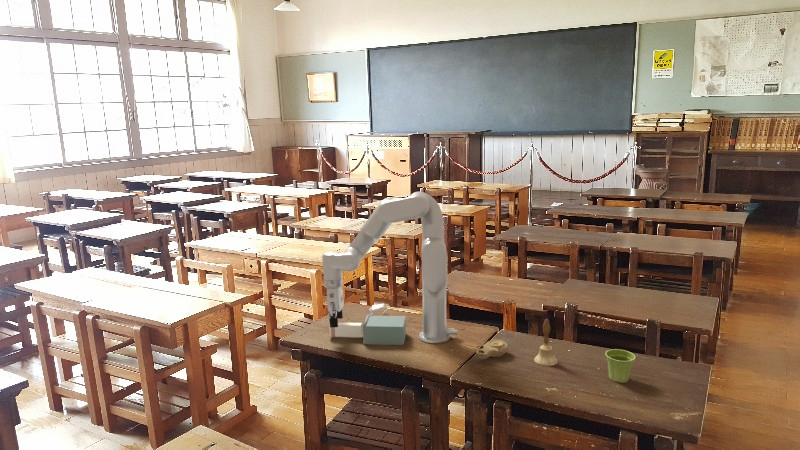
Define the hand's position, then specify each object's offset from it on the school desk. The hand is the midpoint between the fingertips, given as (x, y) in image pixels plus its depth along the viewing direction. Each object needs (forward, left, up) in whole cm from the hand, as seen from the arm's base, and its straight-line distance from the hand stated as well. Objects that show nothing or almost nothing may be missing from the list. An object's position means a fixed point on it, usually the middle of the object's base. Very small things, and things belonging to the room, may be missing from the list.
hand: (336, 322), depth 225 cm
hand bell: (-81, +18, -7) cm, 83 cm away
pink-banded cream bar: (-4, 0, -6) cm, 7 cm away
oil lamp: (-62, +15, -7) cm, 64 cm away
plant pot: (-103, +31, -7) cm, 108 cm away
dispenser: (-20, 0, -7) cm, 21 cm away
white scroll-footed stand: (-13, -25, -7) cm, 29 cm away
